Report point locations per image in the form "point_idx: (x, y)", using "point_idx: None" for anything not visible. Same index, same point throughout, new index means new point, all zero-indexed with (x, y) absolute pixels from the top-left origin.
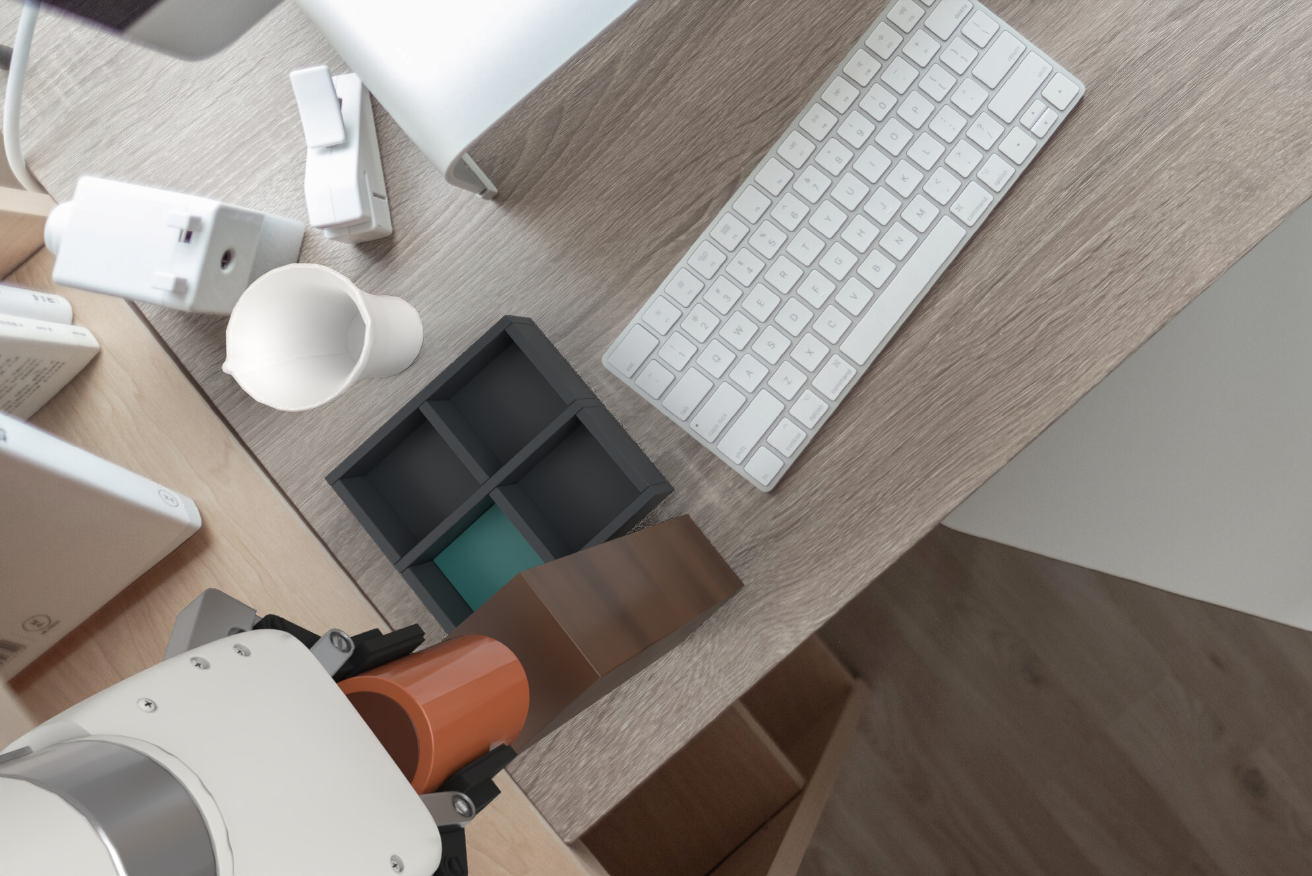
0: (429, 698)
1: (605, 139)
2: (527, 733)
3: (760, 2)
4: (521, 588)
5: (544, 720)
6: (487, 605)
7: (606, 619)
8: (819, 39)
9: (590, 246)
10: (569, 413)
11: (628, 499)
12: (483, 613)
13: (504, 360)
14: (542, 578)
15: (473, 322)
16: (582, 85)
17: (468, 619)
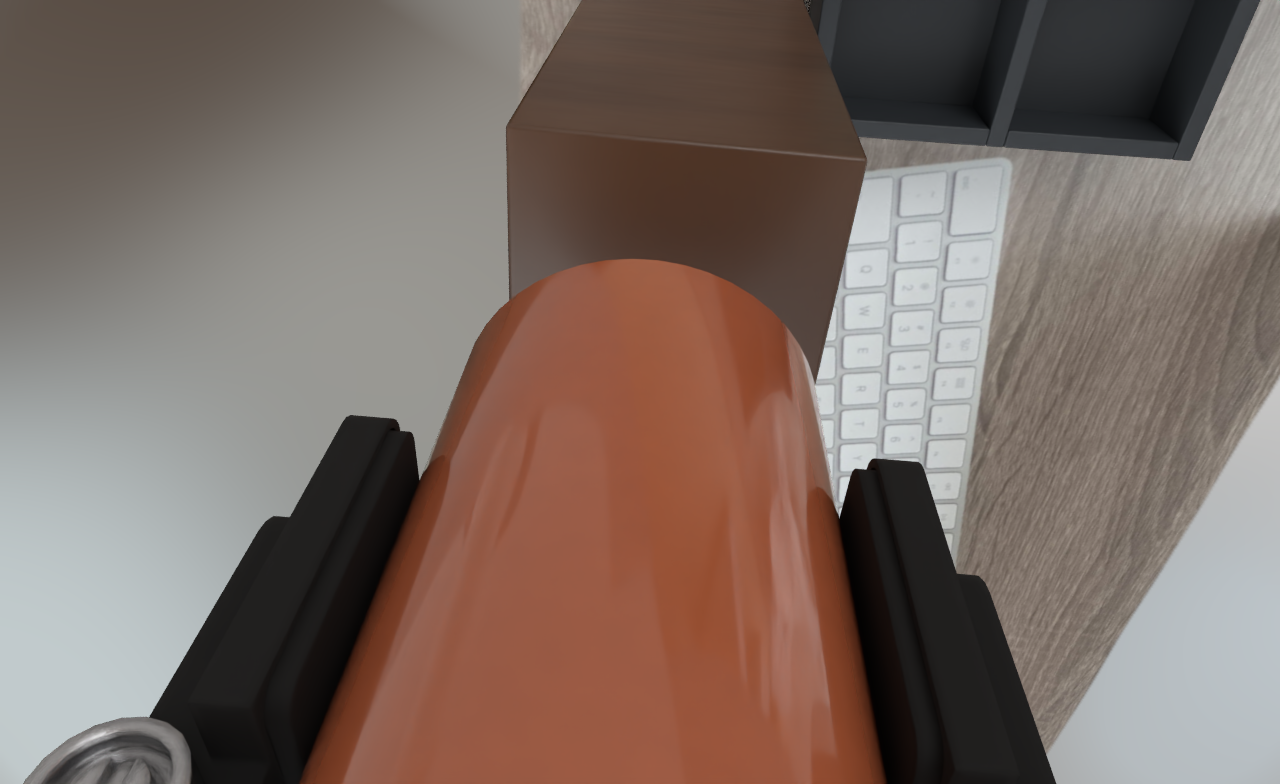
0: None
1: (1179, 366)
2: (524, 237)
3: (1079, 561)
4: None
5: (522, 279)
6: (811, 359)
7: None
8: (992, 569)
9: (1120, 260)
10: (1000, 124)
11: (841, 51)
12: (807, 341)
13: (1157, 61)
14: None
15: (1243, 58)
16: (1249, 392)
17: (827, 311)
